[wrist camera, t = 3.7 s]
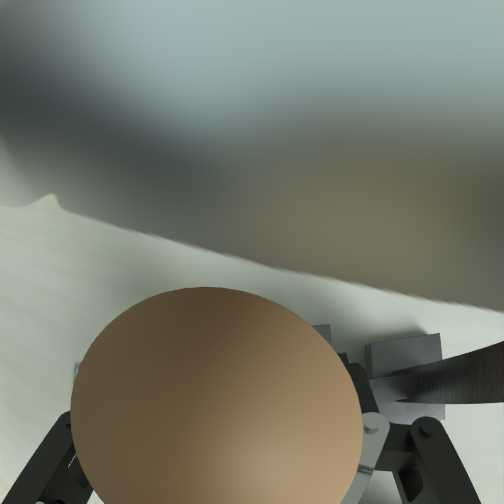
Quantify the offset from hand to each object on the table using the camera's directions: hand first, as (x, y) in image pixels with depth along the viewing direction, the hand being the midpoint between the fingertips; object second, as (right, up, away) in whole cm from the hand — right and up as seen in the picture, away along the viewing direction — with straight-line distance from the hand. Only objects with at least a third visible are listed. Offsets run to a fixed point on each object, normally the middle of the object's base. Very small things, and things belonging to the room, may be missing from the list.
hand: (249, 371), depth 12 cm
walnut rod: (+1, -5, +8) cm, 9 cm away
